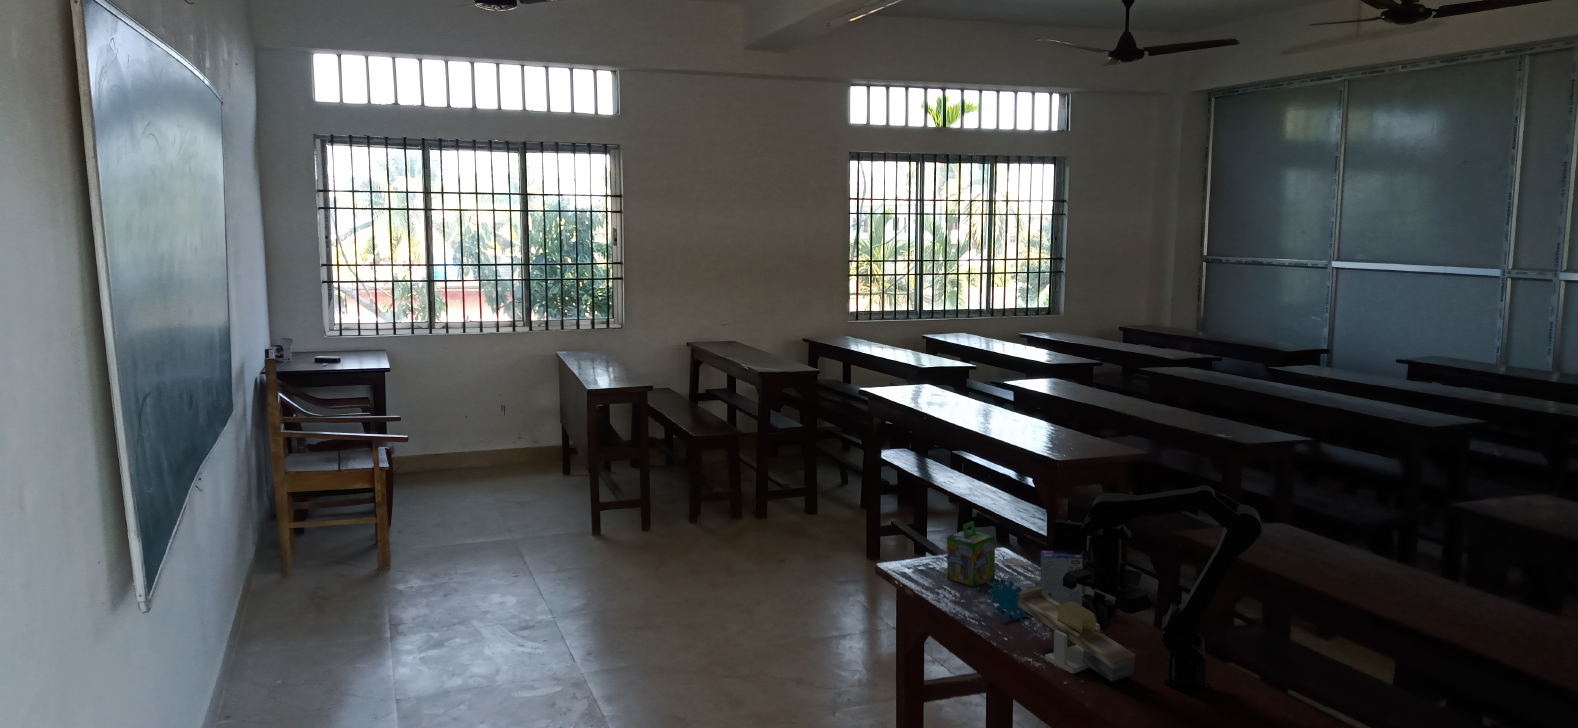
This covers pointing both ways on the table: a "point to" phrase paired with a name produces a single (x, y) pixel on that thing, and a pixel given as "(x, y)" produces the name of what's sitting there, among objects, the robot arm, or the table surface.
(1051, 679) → the table surface
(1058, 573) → the ink cartridge box
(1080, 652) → the pivot stand
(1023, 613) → the gear
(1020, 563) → the table surface
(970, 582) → the chalk box
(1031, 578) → the table surface
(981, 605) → the table surface
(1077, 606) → the beige rectangular block
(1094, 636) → the seesaw beam
